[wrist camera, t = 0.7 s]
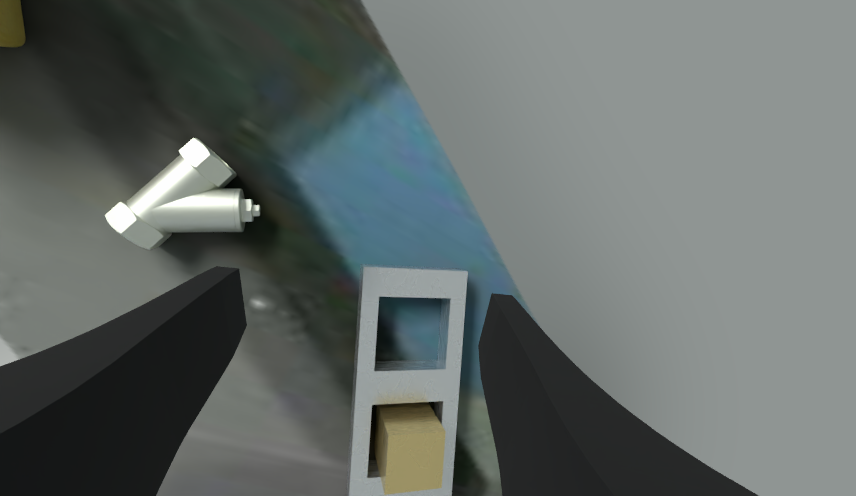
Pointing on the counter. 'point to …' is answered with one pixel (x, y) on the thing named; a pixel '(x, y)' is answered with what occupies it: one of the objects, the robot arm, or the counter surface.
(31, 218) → the counter surface
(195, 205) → the pipe fitting
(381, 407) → the wooden block
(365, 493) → the white block holder tray
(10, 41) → the flower pot
